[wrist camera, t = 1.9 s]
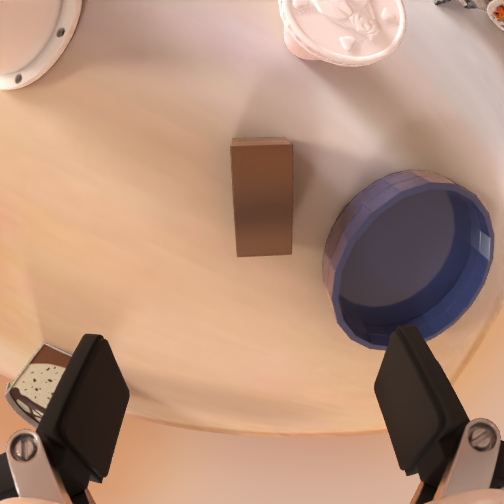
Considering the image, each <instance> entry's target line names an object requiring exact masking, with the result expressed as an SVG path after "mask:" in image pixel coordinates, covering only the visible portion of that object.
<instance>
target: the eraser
mask: <svg viewBox="0 0 504 504" xmlns="http://www.w3.org/2000/svg"><path fill="white" fill-rule="evenodd" d="M230 153H231V170H232V187H233V204H234V220H235V236H236V251H237V257H251V256H272V255H291V254H292V223H293V145H292V144H291V143H290V142H289V141H288V140H287V139H286V138H285V137H264V138H239V139H232V142H231V146H230Z"/></svg>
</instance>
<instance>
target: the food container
mask: <svg viewBox="0 0 504 504" xmlns="http://www.w3.org/2000/svg"><path fill="white" fill-rule="evenodd" d="M71 357H72V355H71V354H69V353H66V352H64V351H62V350H60V349H57V348H55V347H53V346H51V345H49V344H47V343H45V342H43V343H42V345H41V346H40V347H39V348H38V350H37V351H36V352H35V354H34V355H33V356H32V358H31V359H30V360H29V361H28V363H27V364H26V365H25V367H24V368H23V370H22V371H21V372H20V374H19V375H18V376H17V378H16V379H15V381H14V382H13V383H12V385H10V382H9V381H8V383H7V386H6V389H5V391H6V394H5V397H6V399H7V401H8V403H9V404H10V405H11V407H12V408H13V409H14V410H15V411H16V412H17V414H19V415H20V416H21V417H22V418H23V419H24V420H26V421H27V422H28V423H29V424H31V425H32V426H33V427H35V428H36V429H37V427H38V425H39V423H40V420H41V418H42V416H43V414H44V412H45V409H46V407H47V405H48V403H49V401H50V399H51V397H52V395H53V393H54V391H55V389H56V387H57V385H58V383H59V381H60V379H61V377H62V375H63V373H64V371H65V369H66V367H67V365H68V363H69V361H70V359H71Z"/></svg>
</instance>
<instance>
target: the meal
mask: <svg viewBox="0 0 504 504" xmlns="http://www.w3.org/2000/svg"><path fill="white" fill-rule="evenodd" d="M447 1H451V0H435V5H438V4H441V3H445V2H447ZM458 1H460V2H461V4H462V5H463V6H464V7H465V8H478V9H481V10H484V11H487V13H488V15H489V17H490V19H491V20H492V21H493V22H494V24H495V25H497V26H498V27H499V28H500V29H501V30H503V31H504V27H503V26H502V25H504V0H458ZM493 16H495V18H493ZM498 20H499V21H498Z"/></svg>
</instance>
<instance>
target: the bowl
mask: <svg viewBox="0 0 504 504" xmlns="http://www.w3.org/2000/svg"><path fill="white" fill-rule="evenodd" d="M493 250H494V232H493V228H492V224H491V220H490V216H489V213H488V211H487V210H486V209H485V207H484V206H483V204H482V203H481V201H480V200H479V199H478V197H477V196H476V195H475V194H473V193H472V192H470V191H468V190H466V189H465V188H463V187H461V186H459V185H457V184H455V183H454V182H452V181H450V180H448V179H446V178H444V177H442V176H440V175H438V174H436V173H432V172H428V171H421V170H408V171H402V172H397V173H394V174H391V175H388V176H386V177H384V178H381V179H379V180H377V181H375V182H374V183H372V184H371V185H369V186H368V187H366V188H365V189H364V190H363V191H361V192H360V193H359V194H358V195H357V196H355V197H354V199H353V200H352V201H351V202H350V203H349V204H348V205H347V206H346V207H345V209H344V210H343V212H342V213H341V214H340V216H339V217H338V219H337V221H336V222H335V224H334V226H333V228H332V230H331V232H330V235H329V237H328V239H327V243H326V246H325V250H324V256H323V264H322V273H323V281H324V285H325V289H326V292H327V295H328V299H329V302H330V304H331V307H332V310H333V312H334V315H335V318H336V320H337V323H338V324H339V326H340V327H341V328H342V329H343V330H344V332H345V333H346V334H347V335H348V337H349V338H350V339H351V340H353V341H355V342H357V343H359V344H361V345H363V346H365V347H367V348H370V349H376V350H385V351H386V349H387V346H388V343H389V340H390V337H391V334H392V332H393V331H396V328H397V327H399V326H406V325H415V326H416V327H417V329H418V330H419V332H420V334H421V335H422V337H423V339H424V340H425V342H426V341H428V340H431V339H433V338H435V337H437V336H438V335H439V334H441V333H442V332H444V331H445V330H446V329H448V328H449V327H450V326H452V325H453V324H455V323H456V322H457V321H458V320H459V318H460V317H461V316H462V315H463V314H464V313H465V312H466V311H467V310H468V309H469V308H470V306H471V305H472V304H473V302H474V301H475V299H476V298H477V296H478V294H479V292H480V291H481V289H482V287H483V286H484V284H485V282H486V279H487V276H488V273H489V270H490V266H491V263H492V260H493Z"/></svg>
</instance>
